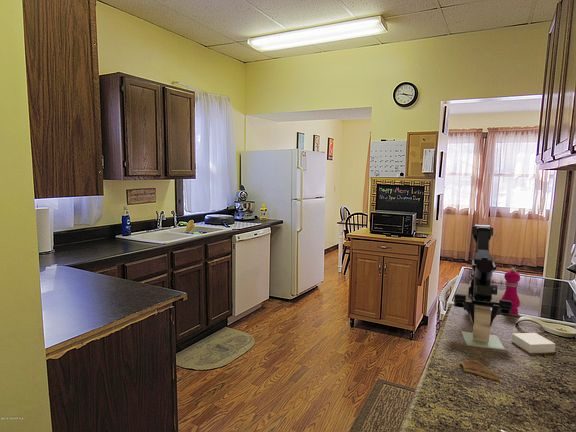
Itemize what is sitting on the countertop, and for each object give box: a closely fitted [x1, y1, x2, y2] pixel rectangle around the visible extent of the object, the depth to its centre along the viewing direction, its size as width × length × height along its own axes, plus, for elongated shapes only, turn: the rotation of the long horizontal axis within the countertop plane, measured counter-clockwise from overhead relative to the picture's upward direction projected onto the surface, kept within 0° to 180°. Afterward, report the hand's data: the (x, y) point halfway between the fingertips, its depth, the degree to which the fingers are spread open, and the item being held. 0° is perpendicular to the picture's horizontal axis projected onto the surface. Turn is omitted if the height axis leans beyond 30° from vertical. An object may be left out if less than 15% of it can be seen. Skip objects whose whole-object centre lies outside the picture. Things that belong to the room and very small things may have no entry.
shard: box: [459, 359, 502, 382], centre depth 113 cm, size 11×8×2 cm
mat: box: [461, 330, 506, 351], centre depth 136 cm, size 12×12×1 cm
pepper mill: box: [500, 267, 521, 315], centre depth 164 cm, size 7×7×20 cm
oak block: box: [472, 305, 492, 342], centre depth 133 cm, size 5×5×11 cm
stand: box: [511, 332, 556, 354], centre depth 131 cm, size 9×9×3 cm
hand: (481, 325), depth 132 cm, fingers closed on oak block, 5 cm apart
